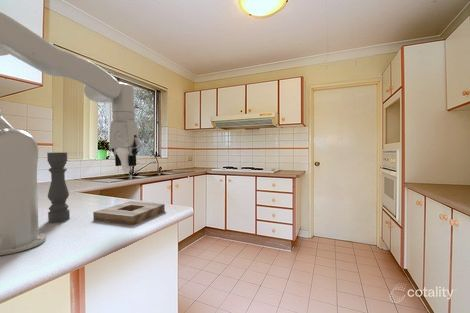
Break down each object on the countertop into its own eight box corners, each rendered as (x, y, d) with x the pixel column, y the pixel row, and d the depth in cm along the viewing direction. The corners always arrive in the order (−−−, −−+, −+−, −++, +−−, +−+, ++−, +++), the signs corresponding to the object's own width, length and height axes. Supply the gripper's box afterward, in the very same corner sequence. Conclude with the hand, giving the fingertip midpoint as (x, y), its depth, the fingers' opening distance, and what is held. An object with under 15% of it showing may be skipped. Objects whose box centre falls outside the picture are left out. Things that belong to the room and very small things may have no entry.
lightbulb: (121, 173, 79) (120, 142, 79) (114, 172, 83) (112, 143, 83) (138, 171, 84) (136, 142, 84) (130, 170, 88) (129, 143, 87)
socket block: (132, 225, 76) (132, 216, 76) (93, 219, 82) (93, 211, 82) (164, 211, 93) (164, 204, 93) (130, 207, 99) (130, 201, 99)
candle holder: (57, 223, 78) (55, 152, 77) (43, 222, 79) (41, 152, 78) (73, 218, 84) (72, 152, 83) (60, 217, 85) (58, 152, 84)
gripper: (97, 118, 82) (100, 166, 83) (134, 115, 76) (136, 167, 77) (114, 120, 89) (116, 164, 90) (149, 117, 83) (151, 165, 84)
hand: (125, 165), depth 84 cm, fingers closed on lightbulb, 5 cm apart
